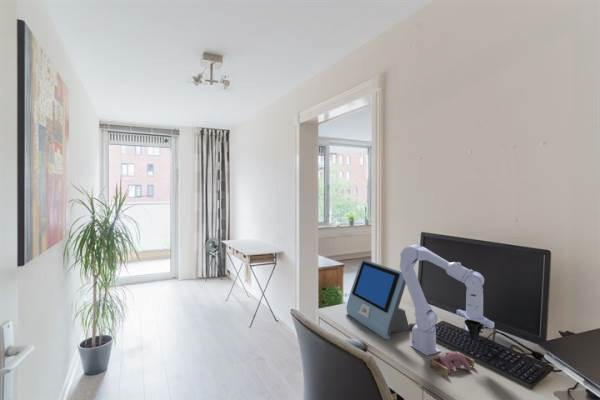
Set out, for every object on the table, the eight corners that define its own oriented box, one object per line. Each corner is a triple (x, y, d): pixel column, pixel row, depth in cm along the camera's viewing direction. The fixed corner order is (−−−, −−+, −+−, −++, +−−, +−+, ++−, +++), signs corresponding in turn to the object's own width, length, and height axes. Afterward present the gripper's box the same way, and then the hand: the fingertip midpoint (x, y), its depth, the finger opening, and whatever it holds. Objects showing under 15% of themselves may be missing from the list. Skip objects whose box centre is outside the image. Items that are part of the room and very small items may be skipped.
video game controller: (465, 371, 120) (459, 350, 123) (472, 371, 116) (466, 350, 119) (441, 373, 118) (436, 352, 121) (448, 374, 114) (443, 352, 117)
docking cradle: (430, 367, 120) (430, 359, 120) (457, 358, 126) (457, 351, 126) (446, 377, 113) (446, 368, 113) (474, 367, 119) (474, 360, 119)
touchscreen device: (343, 314, 173) (345, 259, 173) (373, 310, 180) (375, 258, 180) (383, 341, 141) (385, 274, 141) (417, 335, 148) (419, 271, 148)
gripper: (451, 300, 127) (450, 333, 127) (485, 312, 114) (485, 350, 114) (463, 297, 130) (463, 330, 130) (498, 309, 116) (497, 346, 117)
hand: (474, 339), depth 122 cm, fingers closed
